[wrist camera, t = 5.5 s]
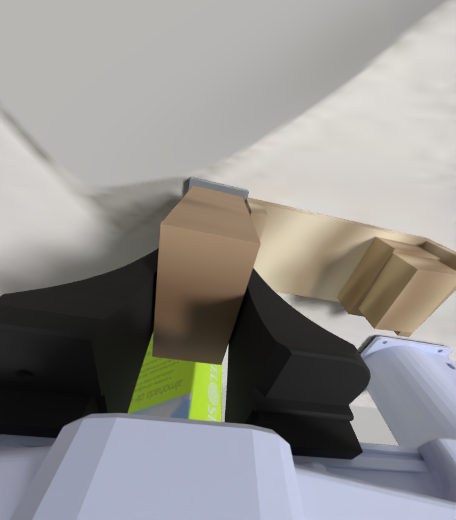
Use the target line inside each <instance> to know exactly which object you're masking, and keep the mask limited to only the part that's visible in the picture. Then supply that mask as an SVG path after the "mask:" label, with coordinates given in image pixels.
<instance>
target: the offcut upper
mask: <svg viewBox="0 0 456 520" xmlns="http://www.w3.org/2000/svg"><path fill="white" fill-rule="evenodd" d="M455 286H456V271H455V270H453V269H452V268H450V267H448V266H446V265H445V264H443V263H441V262H439V261H437V260H436V259H432V258H425V257H418V256H410V255H403V254H396V253H393V255H392V256H391V258H390V259H389V261H388V262H387V264H386V266H385V267H384V269H383V270H382V272H381V273H380V275H379V276H378V278H377V280H376V281H375V283H374V284H373V286H372V287H371V289H370V291H369V292H368V294H367V295H366V297H365V298H364V300H363V302H362V303H361V305H360V306H359V308H358V309H359V310H360V312H361V313H362V314H363V315H364V317H365V318H366V319H367V320H368V322H369V323H370V324H371V325H372V327H373V328H374V329H381V330H391V331H401V332H411V333H413V332H414V331H415V330H416V329H417V328H418V327H419V326H420V325H421V324H422V322H423V321H424V320H425V319H426V318H427V317H428V316H429V315H430V314H431V312H432V311H433V310H434V309H435V308H436V307H437V306H438V305H439V304H440V302H441V301H442V300H443V299H444V298H445V297H446V296H447V295H448V294H449V292H450V291H451V290H452V289H453V288H454V287H455Z"/></svg>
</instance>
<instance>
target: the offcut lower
mask: <svg viewBox="0 0 456 520" xmlns="http://www.w3.org/2000/svg"><path fill="white" fill-rule="evenodd" d="M393 253H396V254H403V255H410V256H418V257H425V258H432V259H436V260H437V261H439V260H440V258H439V257H437V256H435V255H433V254H431V253H429V252H428V251H426V250H424V249H422V248H420V247H418V246H416V245H412V244H407V243H403V242H398V241H394V240H389V239H384V238H380V237H375V238H374V240H373V242H372V243H371V245H370V246H369V248H368V249H367V251H366V253H365V254H364V256H363V257H362V259H361V260H360V262H359V263H358V265H357V267H356V268H355V270H354V271H353V273H352V274H351V276H350V278H349V279H348V281H347V282H346V284H345V285H344V287H343V288H342V290H341V292H340V293H339V295H338V296H337V298H338V300H339V301H340V303H341V304H342V305H343V307H344V308H345V310H346V311H347V312H348V314H352V315H358V316H364V315H363V314H362V313H361V312H360V310H359V309H358V308H359V306H360V305H361V303H362V302H363V300H364V298H365V297H366V295H367V294H368V292H369V291H370V289H371V287H372V286H373V284H374V283H375V281H376V280H377V278H378V276H379V275H380V273H381V272H382V270H383V269H384V267H385V266H386V264H387V262H388V261H389V259H390V258H391V256H392V255H393Z"/></svg>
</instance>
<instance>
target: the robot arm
mask: <svg viewBox="0 0 456 520" xmlns="http://www.w3.org/2000/svg"><path fill="white" fill-rule="evenodd" d="M158 254H159V248H158V249H157V250H155V251H153V252H152V253H150V254H148V255H146V256H145V257H143V258H141V259H139V260H137V261H135V262H133V263H131V264H128V265H126V266H124V267H121V268H119V269H116V270H114V271H111V272H108V273H105V274H102V275H98V276H95V277H92V278H88V279H85V280H81V281H77V282H73V283H68V284H63V285H59V286H54V287H48V288H43V289H36V290H29V291H23V292H16V293H9V294H4V295H2V296H1V297H0V520H456V364H455V363H454V362H453V361H452V360H451V359H450V358H449V357H448V355H449V354H450V353H452V349H451V348H450V347H447V346H441V345H434V344H428V343H421V342H415V341H409V340H402V339H396V338H389V337H383V336H377V337H375V338H374V339H373V341H372V342H371V343H370V344H369V345H368V346H367V347H366V349H365V350H364V351H363V352H362V353H361V354H359V352H358V350H357V349H356V347H355V346H354V345H353V344H351V343H349V342H347V341H345V340H343V339H342V338H340V337H338V336H336V335H334V334H332V333H330V332H329V331H327V330H325V329H324V328H322V327H320V326H319V325H317V324H316V323H314V322H312V321H311V320H309V319H308V318H306V317H305V316H304V315H302V314H301V313H299V312H298V311H297V310H295V309H294V308H293V307H291V306H290V305H289V304H288V303H287V302H285V301H284V300H283V299H282V298H281V297H280V296H279V295H278V294H277V293H275V292H274V291H273V290H272V288H271V287H270V286H269V285H268V284H267V283H266V282H265V281H264V280H263V279H262V278H261V276H260V275H259V274H258V273H257V271H256V270H255V269H254V268H253V269H252V273H251V276H250V279H249V282H248V285H247V288H246V291H245V294H244V297H243V300H242V303H241V306H240V309H239V312H238V315H237V319H236V322H235V325H234V328H233V331H232V334H231V337H230V340H229V348H228V374H227V393H226V394H227V395H226V410H225V422H216V421H205V420H193V419H182V418H171V417H160V416H149V415H137V414H127V413H128V410H129V407H130V403H131V400H132V397H133V393H134V390H135V387H136V384H137V380H138V377H139V374H140V371H141V368H142V364H143V361H144V358H145V355H146V352H147V349H148V346H149V343H150V340H151V337H152V334H153V331H154V317H155V302H156V286H157V270H158ZM365 388H366V389H367V391H368V392H369V394H370V396H371V398H372V399H373V401H374V403H375V405H376V406H377V408H378V410H379V411H380V413H381V415H382V417H383V418H384V420H385V422H386V424H387V425H388V427H389V429H390V431H391V432H392V434H393V436H394V438H395V439H396V441H397V443H398V445H399V446H395V445H383V444H371V443H359V441H358V439H357V437H356V435H355V432H354V430H353V428H352V426H351V424H350V421H352V420H353V419H354V416H353V414H352V412H351V409H350V407H349V404H350V403H351V402H352V401H353V400H354V399H355V398H357V397H358V396H359V395H360V394H361V393H362V392H363V391H364V390H365Z"/></svg>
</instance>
